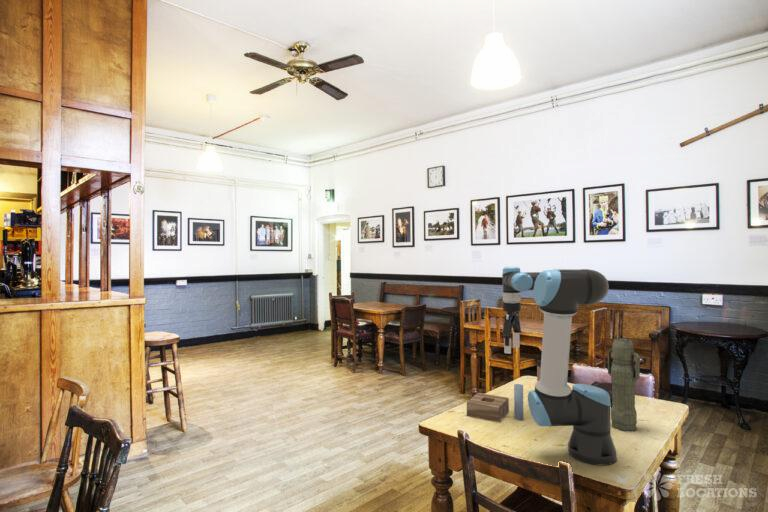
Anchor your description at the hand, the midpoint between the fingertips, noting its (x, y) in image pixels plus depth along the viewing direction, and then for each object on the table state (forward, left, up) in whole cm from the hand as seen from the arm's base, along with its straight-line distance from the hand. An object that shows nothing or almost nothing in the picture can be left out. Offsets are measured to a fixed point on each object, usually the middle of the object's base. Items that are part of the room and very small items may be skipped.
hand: (512, 350), depth 190 cm
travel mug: (+16, -11, -27) cm, 33 cm away
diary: (+38, -34, -28) cm, 58 cm away
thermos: (+4, -43, -27) cm, 51 cm away
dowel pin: (-8, -5, -27) cm, 28 cm away
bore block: (-9, +8, -27) cm, 29 cm away
